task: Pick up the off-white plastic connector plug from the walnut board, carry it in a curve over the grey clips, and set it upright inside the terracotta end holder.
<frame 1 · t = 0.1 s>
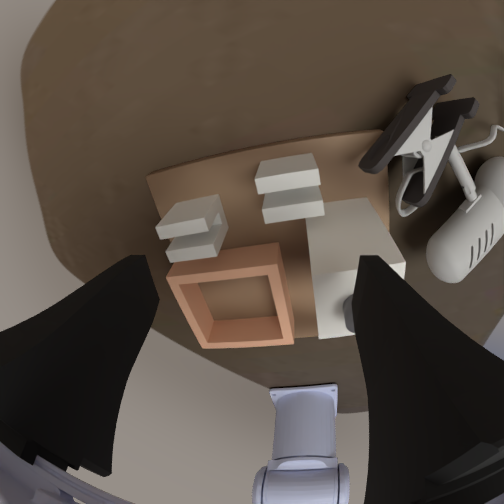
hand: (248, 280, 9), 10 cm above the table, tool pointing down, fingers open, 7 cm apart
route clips: (246, 194, 18), resting on route board
connector plug: (338, 229, 17), point 1 cm above the table, touching route board
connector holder: (240, 282, 22), resting on route board
clip-on lamp: (473, 138, 14), on the table
route board: (283, 255, 20), on the table
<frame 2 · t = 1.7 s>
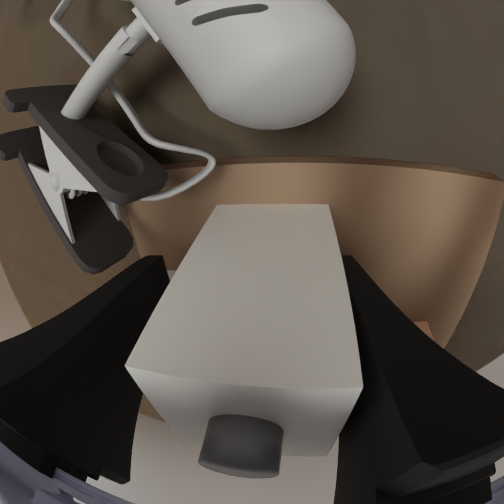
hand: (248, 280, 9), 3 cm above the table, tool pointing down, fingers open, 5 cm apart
connector plug: (273, 252, 11), point 1 cm above the table, touching gripper, route board
clip-on lamp: (118, 10, 7), on the table
route board: (318, 310, 14), on the table
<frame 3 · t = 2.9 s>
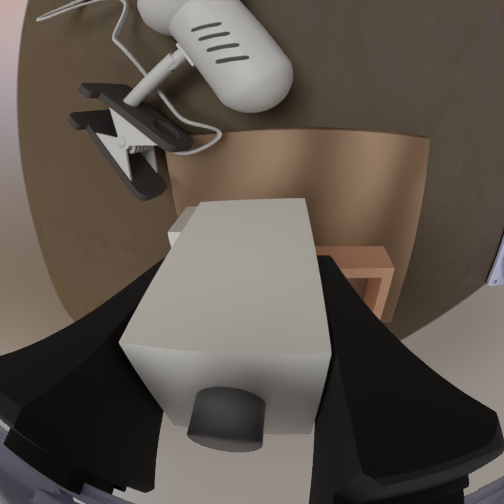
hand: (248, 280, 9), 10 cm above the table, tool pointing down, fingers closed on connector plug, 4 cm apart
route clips: (230, 257, 21), resting on route board
connector plug: (255, 244, 12), point 7 cm above the table, touching gripper
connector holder: (325, 281, 21), resting on route board
clip-on lamp: (153, 35, 13), on the table
route board: (300, 238, 19), on the table
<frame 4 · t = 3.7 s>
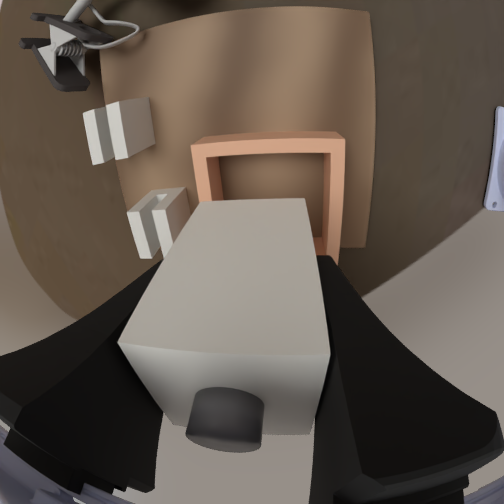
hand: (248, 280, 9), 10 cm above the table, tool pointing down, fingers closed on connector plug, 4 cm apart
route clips: (162, 162, 17), resting on route board
connector plug: (255, 244, 12), point 7 cm above the table, touching gripper
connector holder: (273, 187, 17), resting on route board
route board: (236, 131, 16), on the table
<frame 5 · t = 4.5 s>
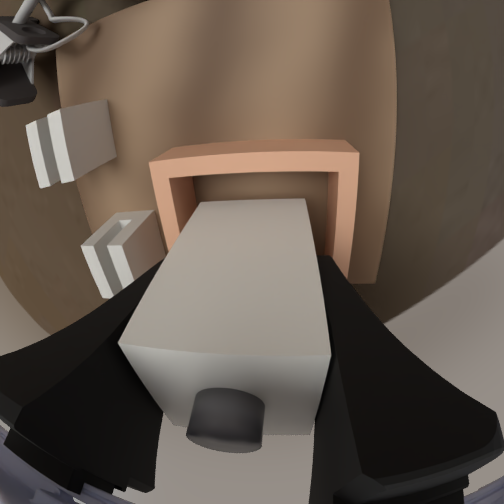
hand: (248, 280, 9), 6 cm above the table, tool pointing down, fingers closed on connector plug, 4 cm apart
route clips: (129, 178, 14), resting on route board
connector plug: (255, 245, 12), point 3 cm above the table, touching gripper
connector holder: (263, 210, 14), resting on route board
route board: (215, 139, 12), on the table
when the fingers open (5 cm above the table, at t = 5.1 s): connector plug drops 1 cm, resting on route board.
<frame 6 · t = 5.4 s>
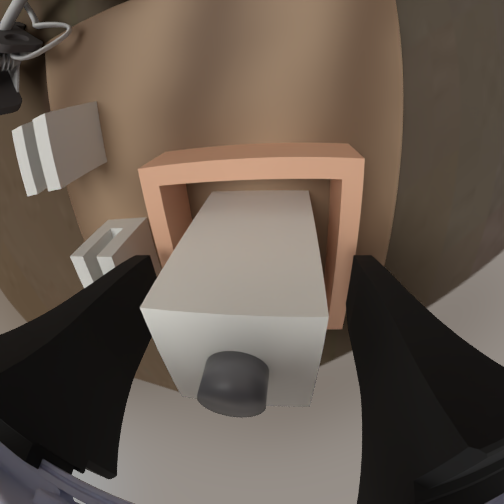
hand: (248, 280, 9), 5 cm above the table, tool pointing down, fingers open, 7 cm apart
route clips: (120, 184, 13), resting on route board
connector plug: (261, 233, 12), point 1 cm above the table, touching route board
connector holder: (261, 217, 13), resting on route board
route board: (209, 142, 11), on the table
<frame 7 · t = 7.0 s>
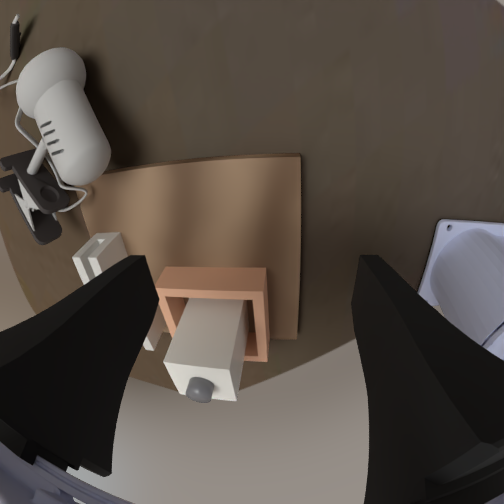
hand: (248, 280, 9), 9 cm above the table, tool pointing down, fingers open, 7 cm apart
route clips: (139, 273, 22), resting on route board
connector plug: (222, 308, 22), point 1 cm above the table, touching route board
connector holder: (223, 297, 22), resting on route board
clip-on lamp: (49, 106, 15), on the table
route board: (190, 259, 21), on the table
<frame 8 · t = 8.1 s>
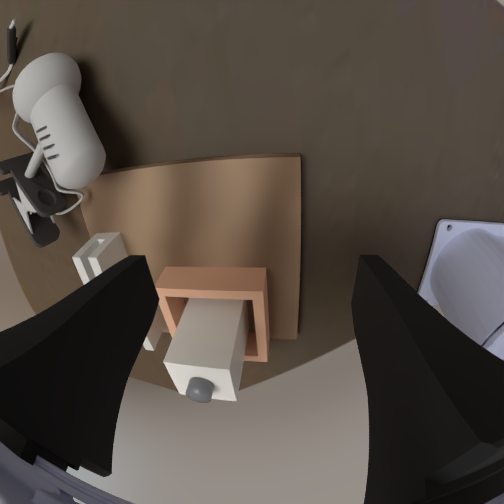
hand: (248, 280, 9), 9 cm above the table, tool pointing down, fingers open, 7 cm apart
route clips: (139, 273, 22), resting on route board
connector plug: (222, 308, 22), point 1 cm above the table, touching route board
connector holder: (223, 297, 22), resting on route board
clip-on lamp: (46, 110, 15), on the table
route board: (190, 259, 21), on the table
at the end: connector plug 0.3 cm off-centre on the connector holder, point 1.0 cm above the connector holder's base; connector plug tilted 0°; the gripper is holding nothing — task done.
